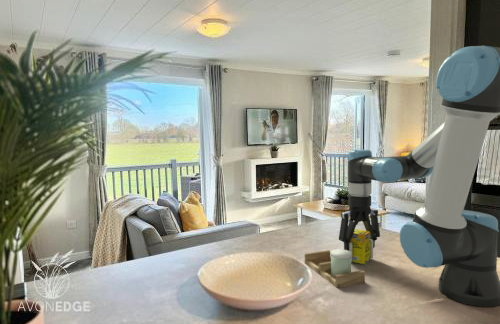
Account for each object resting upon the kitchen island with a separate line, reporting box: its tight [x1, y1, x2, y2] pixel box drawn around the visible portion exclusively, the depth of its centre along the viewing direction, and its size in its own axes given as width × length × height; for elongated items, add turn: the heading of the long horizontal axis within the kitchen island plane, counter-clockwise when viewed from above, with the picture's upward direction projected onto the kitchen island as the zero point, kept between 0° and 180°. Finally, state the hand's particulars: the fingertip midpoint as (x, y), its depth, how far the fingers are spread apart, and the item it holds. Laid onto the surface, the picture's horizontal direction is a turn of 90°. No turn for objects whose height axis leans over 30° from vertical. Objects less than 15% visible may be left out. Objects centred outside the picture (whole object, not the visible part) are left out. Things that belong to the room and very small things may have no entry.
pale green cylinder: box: [330, 248, 352, 279], centre depth 103 cm, size 6×6×8 cm
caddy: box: [304, 249, 366, 289], centre depth 108 cm, size 20×10×4 cm, turn 18°
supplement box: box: [350, 228, 371, 266], centre depth 117 cm, size 6×6×11 cm
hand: (359, 258), depth 117 cm, fingers closed on supplement box, 8 cm apart
